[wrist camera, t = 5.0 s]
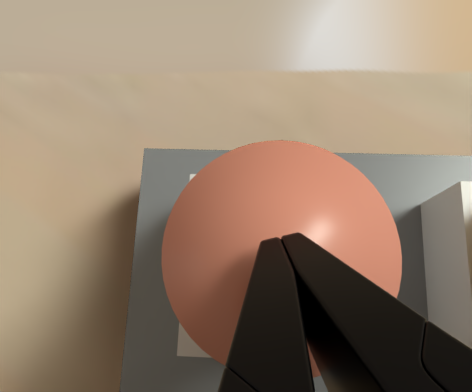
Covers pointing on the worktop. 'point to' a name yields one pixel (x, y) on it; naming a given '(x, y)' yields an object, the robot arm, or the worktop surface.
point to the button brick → (268, 230)
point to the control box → (411, 240)
